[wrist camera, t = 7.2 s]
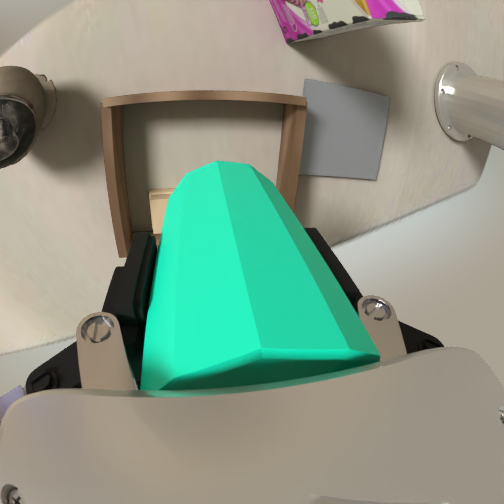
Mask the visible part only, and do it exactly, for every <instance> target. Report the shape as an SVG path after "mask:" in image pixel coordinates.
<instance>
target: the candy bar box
mask: <svg viewBox="0 0 504 504" xmlns="http://www.w3.org/2000/svg"><path fill="white" fill-rule="evenodd" d="M269 1H270V3H271V5H272V8H273V10H274V12H275V15H276V17H277V20H278V22H279V25H280V27H281V30H282V33H283V35H284V38H285V41H286V43H293V42H298V41H304V40H310V39H316V38H323V37H328V36H332V35H335V34H340V33H344V32H348V31H353V30H358V29H364V28H368V27H375V26H381V25H388V24H396V23H407V22H417V21H423V20H425V17H424V14H423V11H422V8H421V5H420V2H419V0H269Z"/></svg>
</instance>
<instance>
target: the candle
mask: <svg viewBox="0 0 504 504" xmlns="http://www.w3.org/2000/svg"><path fill="white" fill-rule="evenodd" d="M380 357H381V355H380V353H379V352H378V350H377V348H376V346H375V344H374V343H373V341H372V339H371V337H370V336H369V334H368V332H367V330H366V329H365V327H364V325H363V323H362V322H361V320H360V318H359V316H358V315H357V313H356V311H355V310H354V308H353V306H352V305H351V303H350V301H349V300H348V298H347V296H346V295H345V293H344V291H343V290H342V288H341V286H340V285H339V283H338V281H337V280H336V278H335V277H334V275H333V273H332V272H331V270H330V268H329V267H328V265H327V264H326V262H325V261H324V259H323V257H322V256H321V254H320V253H319V251H318V250H317V248H316V246H315V245H314V243H313V242H312V240H311V239H310V237H309V236H308V234H307V233H306V231H305V229H304V228H303V226H302V225H301V223H300V222H299V220H298V219H297V217H296V216H295V214H294V213H293V211H292V210H291V209H290V207H289V206H288V204H287V203H286V201H285V200H284V198H283V197H282V195H281V194H280V192H279V191H278V190H277V188H276V187H275V185H274V184H273V183H272V182H271V181H270V180H269V179H267V178H266V177H265V176H264V175H262V174H261V173H260V172H258V171H257V170H256V169H255V168H253V167H252V166H251V165H249V164H242V163H234V162H225V161H215V162H212V163H210V164H208V165H205V166H203V167H201V168H198V169H196V170H194V171H191V172H189V173H187V174H186V175H185V176H184V178H183V179H182V180H181V182H180V183H179V185H178V186H177V187H176V189H175V190H174V191H173V193H172V194H171V196H170V197H169V198H168V203H167V207H166V212H165V216H164V221H163V226H162V231H161V236H160V241H159V246H158V251H157V257H156V262H155V268H154V274H153V280H152V286H151V293H150V300H149V307H148V315H147V323H146V331H145V340H144V350H143V360H142V373H141V387H140V390H196V389H213V388H226V387H238V386H248V385H257V384H265V383H273V382H280V381H287V380H294V379H300V378H306V377H311V376H317V375H322V374H327V373H332V372H337V371H342V370H347V369H351V368H356V367H360V366H364V365H368V364H372V363H376V362H380Z"/></svg>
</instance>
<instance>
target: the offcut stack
mask: <svg viewBox="0 0 504 504" xmlns="http://www.w3.org/2000/svg"><path fill="white" fill-rule="evenodd" d="M175 189H176V188H166V189H150V192H149V199H150V210H151V219H152V228H153V233H154V234H161V231H162V226H163V221H164V216H165V212H166V207H167V203H168V198H169V197H170V196H171V194H172V193H173V191H174V190H175Z"/></svg>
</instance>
